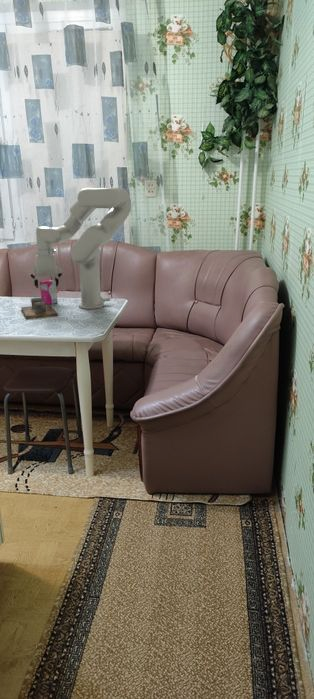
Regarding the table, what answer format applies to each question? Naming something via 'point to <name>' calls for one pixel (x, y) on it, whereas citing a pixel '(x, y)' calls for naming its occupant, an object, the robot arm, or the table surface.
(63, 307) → the table surface
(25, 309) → the hinge board
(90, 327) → the table surface
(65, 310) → the table surface
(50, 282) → the supplement box
